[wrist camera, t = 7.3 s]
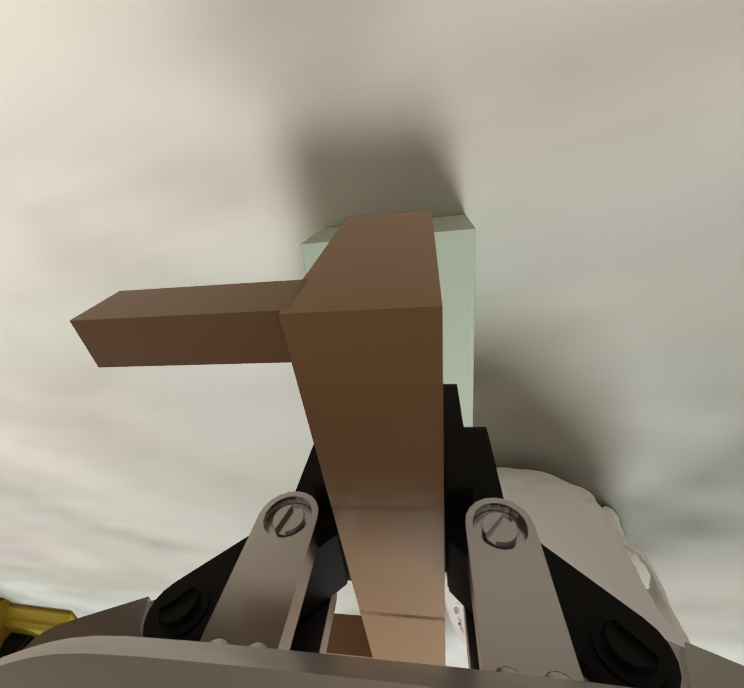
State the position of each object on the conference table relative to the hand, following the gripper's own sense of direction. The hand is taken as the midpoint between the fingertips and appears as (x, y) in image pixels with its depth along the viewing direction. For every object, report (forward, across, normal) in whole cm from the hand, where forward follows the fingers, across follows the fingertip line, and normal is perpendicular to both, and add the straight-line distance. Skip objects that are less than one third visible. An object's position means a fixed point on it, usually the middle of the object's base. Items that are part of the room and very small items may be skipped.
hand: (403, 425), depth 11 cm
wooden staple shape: (+1, +2, 0) cm, 2 cm away
